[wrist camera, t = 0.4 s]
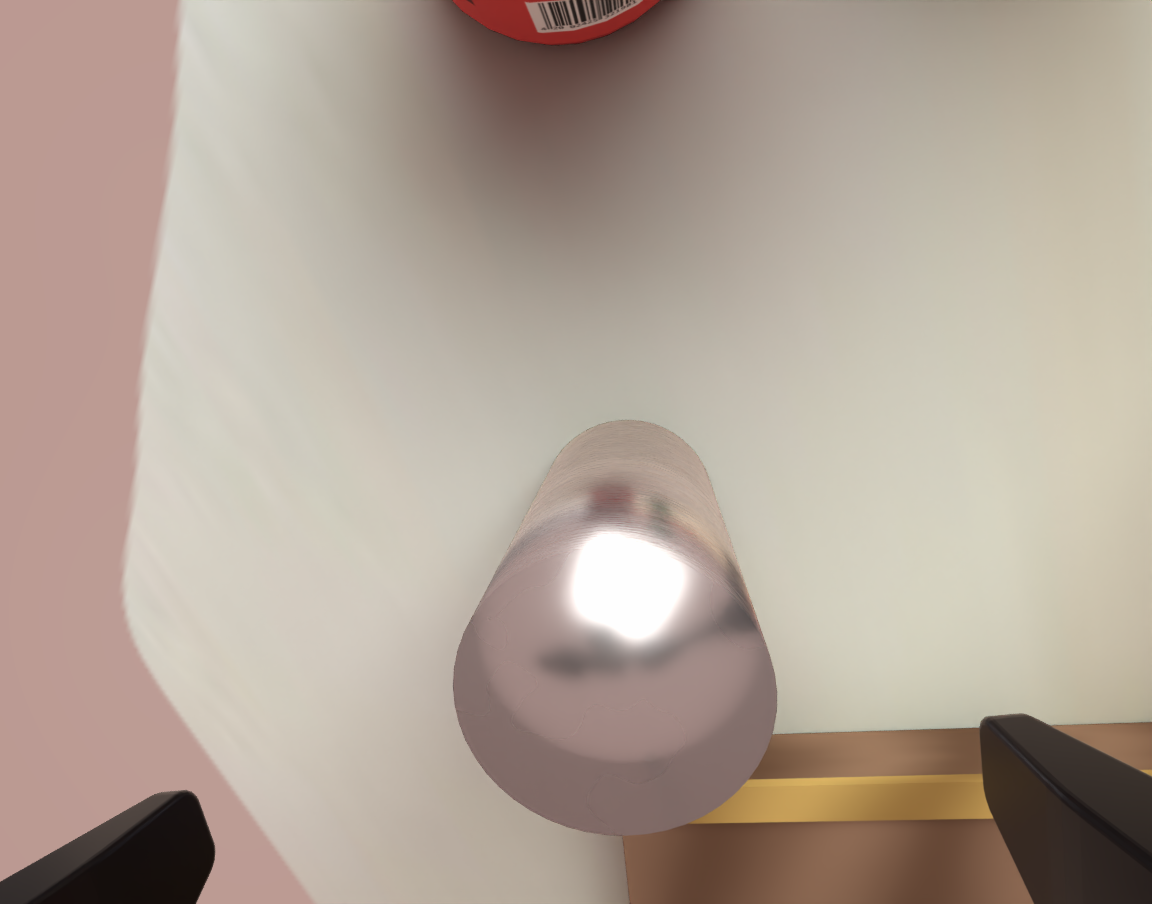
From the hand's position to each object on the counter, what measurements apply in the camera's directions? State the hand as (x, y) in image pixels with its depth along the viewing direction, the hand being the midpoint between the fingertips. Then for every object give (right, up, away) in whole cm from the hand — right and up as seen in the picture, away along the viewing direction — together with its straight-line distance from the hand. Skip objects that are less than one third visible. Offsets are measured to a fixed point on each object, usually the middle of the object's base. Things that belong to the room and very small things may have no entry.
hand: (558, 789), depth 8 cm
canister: (+2, +2, +13) cm, 13 cm away
